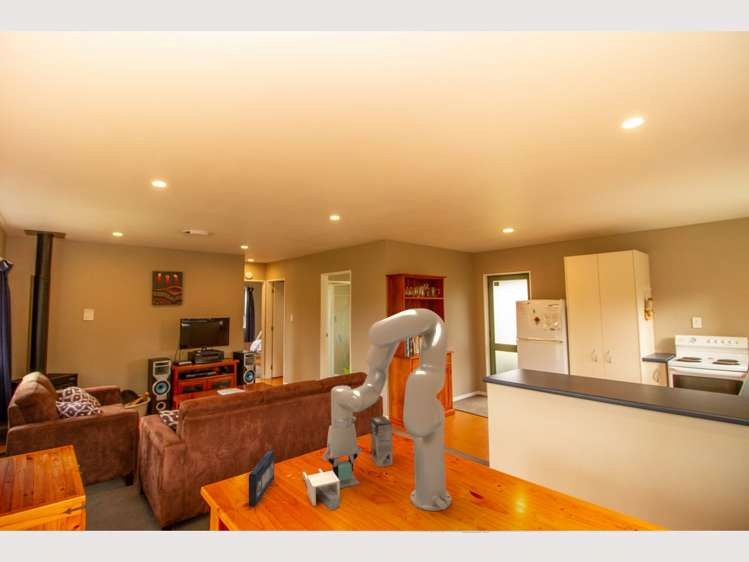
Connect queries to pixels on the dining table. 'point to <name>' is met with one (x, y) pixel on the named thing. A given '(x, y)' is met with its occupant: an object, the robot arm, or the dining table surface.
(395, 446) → the dining table surface
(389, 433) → the coffee box
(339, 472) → the block
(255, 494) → the vhs cassette tape
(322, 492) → the rod
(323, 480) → the white box
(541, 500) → the dining table surface
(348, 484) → the mat
